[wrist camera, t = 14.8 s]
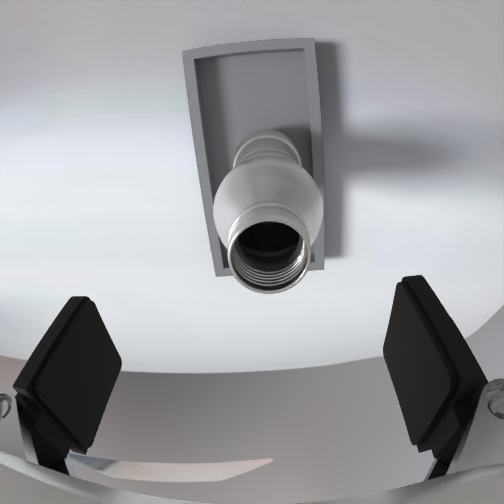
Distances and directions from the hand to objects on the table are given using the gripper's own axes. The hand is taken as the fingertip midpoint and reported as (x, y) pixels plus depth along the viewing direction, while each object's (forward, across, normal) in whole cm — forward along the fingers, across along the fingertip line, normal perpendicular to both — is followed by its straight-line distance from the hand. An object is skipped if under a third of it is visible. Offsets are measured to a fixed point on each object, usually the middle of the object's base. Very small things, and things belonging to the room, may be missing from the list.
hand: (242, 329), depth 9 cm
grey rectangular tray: (+25, 0, +1) cm, 25 cm away
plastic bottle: (+25, -1, +1) cm, 25 cm away
